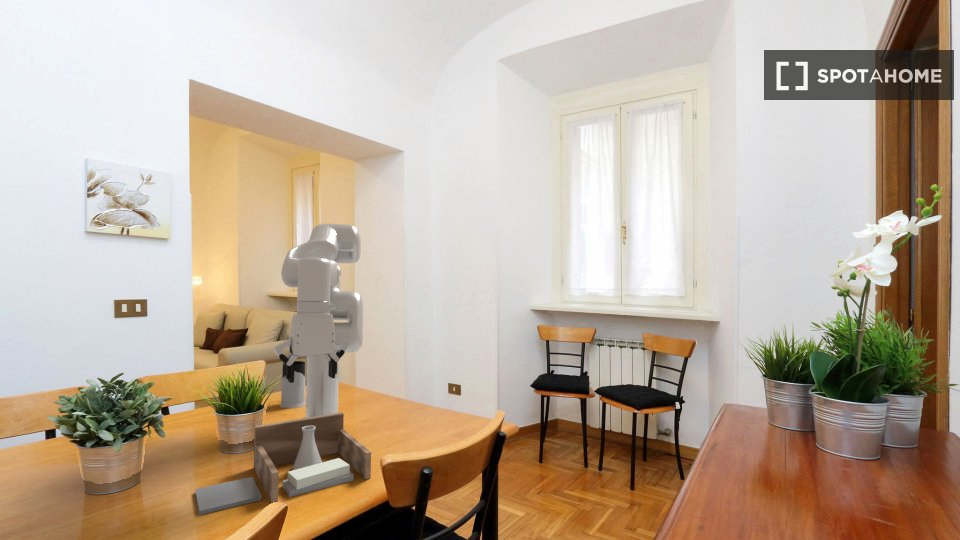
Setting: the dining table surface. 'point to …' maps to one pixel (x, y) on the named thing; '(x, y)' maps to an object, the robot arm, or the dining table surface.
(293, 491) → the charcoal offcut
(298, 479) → the sage offcut
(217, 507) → the slate coaster
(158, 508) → the dining table surface
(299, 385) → the glass holder
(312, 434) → the flask
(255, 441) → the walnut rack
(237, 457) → the dining table surface
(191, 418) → the dining table surface
